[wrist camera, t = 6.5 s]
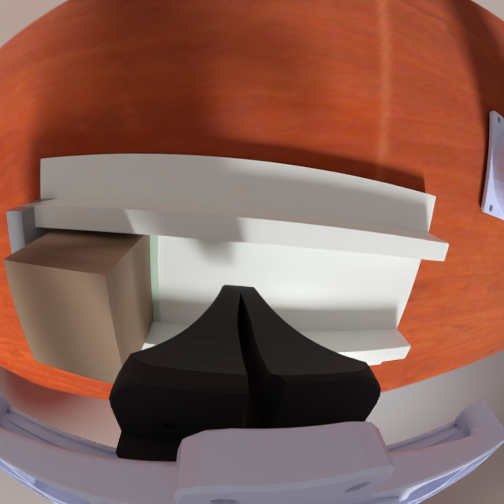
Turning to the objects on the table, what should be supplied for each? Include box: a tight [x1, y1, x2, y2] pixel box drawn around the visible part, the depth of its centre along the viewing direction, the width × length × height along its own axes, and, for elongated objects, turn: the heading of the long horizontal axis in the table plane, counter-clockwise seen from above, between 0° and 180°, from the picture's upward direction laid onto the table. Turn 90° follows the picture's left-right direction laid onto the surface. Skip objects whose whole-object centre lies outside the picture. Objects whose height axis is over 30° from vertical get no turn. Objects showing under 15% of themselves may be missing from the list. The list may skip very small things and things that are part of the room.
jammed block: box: [4, 228, 154, 384], centre depth 10 cm, size 5×5×5 cm
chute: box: [7, 154, 449, 365], centre depth 13 cm, size 22×12×4 cm, turn 84°
